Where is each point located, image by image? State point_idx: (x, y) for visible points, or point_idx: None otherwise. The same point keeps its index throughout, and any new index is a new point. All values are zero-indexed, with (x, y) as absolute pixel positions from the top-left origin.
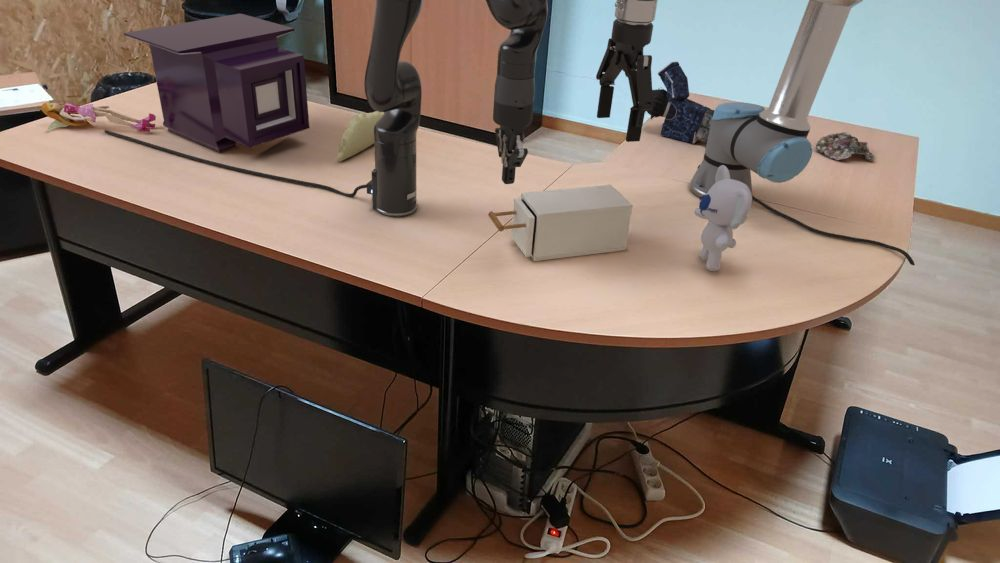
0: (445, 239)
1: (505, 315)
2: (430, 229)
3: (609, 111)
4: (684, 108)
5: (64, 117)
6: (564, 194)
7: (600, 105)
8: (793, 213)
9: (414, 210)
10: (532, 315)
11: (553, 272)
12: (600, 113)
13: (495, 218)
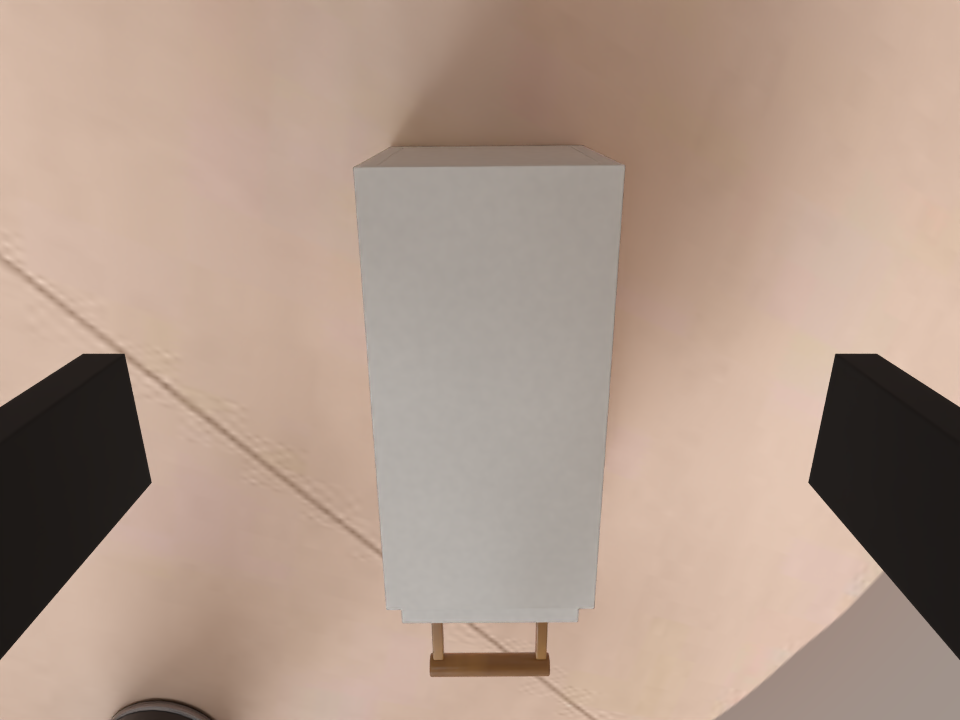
0: (380, 670)
1: (802, 633)
2: (313, 692)
3: (85, 396)
4: None
5: None
6: (434, 452)
7: (72, 569)
8: None
9: (197, 715)
10: (832, 578)
11: (648, 455)
12: (123, 494)
13: (488, 674)
